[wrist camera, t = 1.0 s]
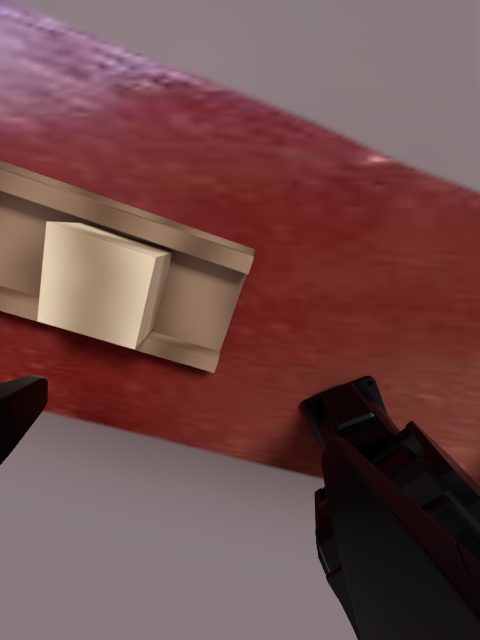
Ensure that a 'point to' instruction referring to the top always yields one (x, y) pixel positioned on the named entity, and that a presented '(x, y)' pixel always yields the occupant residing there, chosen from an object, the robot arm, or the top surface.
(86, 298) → the block
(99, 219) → the chute
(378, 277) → the top surface
